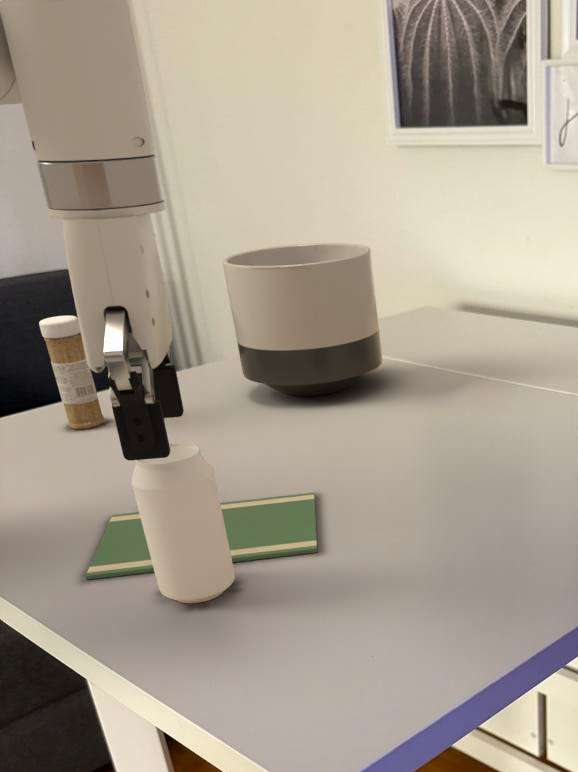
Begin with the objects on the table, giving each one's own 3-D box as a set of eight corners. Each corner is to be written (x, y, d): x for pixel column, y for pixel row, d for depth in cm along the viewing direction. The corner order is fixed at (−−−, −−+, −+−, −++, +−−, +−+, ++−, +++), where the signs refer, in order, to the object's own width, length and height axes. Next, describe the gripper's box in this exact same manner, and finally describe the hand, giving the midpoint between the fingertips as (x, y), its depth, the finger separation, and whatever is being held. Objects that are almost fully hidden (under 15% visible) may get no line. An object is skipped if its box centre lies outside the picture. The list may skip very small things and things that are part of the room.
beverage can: (152, 611, 75) (115, 469, 69) (171, 576, 80) (138, 442, 74) (229, 606, 75) (198, 464, 69) (243, 572, 80) (216, 437, 74)
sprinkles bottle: (101, 417, 124) (73, 312, 117) (108, 425, 121) (80, 318, 114) (65, 424, 122) (35, 318, 115) (72, 432, 119) (41, 324, 112)
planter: (218, 395, 131) (192, 260, 122) (322, 364, 143) (305, 240, 134) (308, 416, 119) (286, 270, 110) (412, 381, 132) (400, 246, 123)
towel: (86, 579, 81) (85, 575, 81) (113, 518, 93) (112, 514, 92) (317, 552, 83) (316, 548, 83) (314, 496, 95) (314, 492, 95)
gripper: (71, 180, 69) (123, 407, 78) (12, 205, 54) (84, 481, 63) (175, 176, 70) (214, 400, 79) (144, 199, 55) (196, 471, 64)
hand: (156, 436), depth 71 cm, fingers open, 9 cm apart
